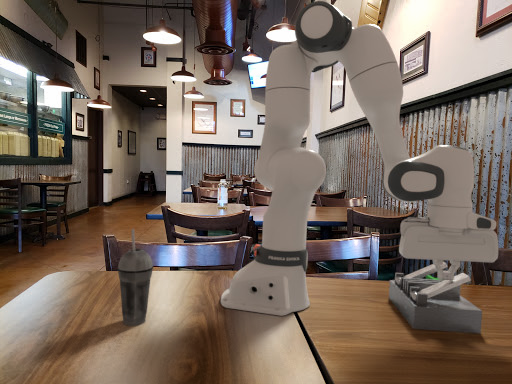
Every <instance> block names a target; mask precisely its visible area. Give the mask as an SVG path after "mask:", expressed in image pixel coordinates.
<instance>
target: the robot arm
mask: <svg viewBox="0 0 512 384" xmlns="http://www.w3.org/2000/svg"><path fill="white" fill-rule="evenodd" d="M294 25H295V26H294V33H295V34H294V35H295V39H296V40H295V41H294V42H292V43H290V44H283V45H279V46H277V47H276V48H275V49H273V50H272V51H271V53H270V54H269V58H268V63H267V69H266V77H265V93H264V94H265V95H264V96H265V101H264V102H265V104H264V105H265V106H264V109H265V110H264V128H263V133H262V140H261V143H260V148H259V149H260V150H259V153H258V158H257V160H256V162H255V164H254V168H253V171H254V172H253V173H254V177H255V179H256V180H257V182H258V183H259V184H261V185H262V187H264V188H266V189H268V190H270V191H272V192H271V196H270V201H269V204H268V207H267V209H266V211H265V212H264V214H263V216H262V238H261V239H262V241H261V244H259V243H258V244H257V243H256V244H255V245H254V246H253V248H252V249H253V260H252V261H251V262H249V263H247V264H245V266H244V267H242V268H240V269H239V270H238V271H237V272H235V273H234V275H233V278H232V279H231V282H230V287H229V288H227V289H225V290H224V291H223V293H222V294H221V297H220V304H221V306H223V308H226V309H233V310H238V311H247V312H251V313H252V312H254V313H261V314H266V315H272V316H273V315H274V316H281V317H282V316H286V315H288V314H291V313H294V312H300V311H303V310H306V309H307V308H308V307H310V304H311V303H310V299H309V295H308V294H309V293H308V287H307V277H306V276H307V275H306V272H307V268H308V260H309V258H308V256H309V255H308V254H309V253H308V248H307V231H308V230H307V229H308V219H309V218H308V217H309V214H310V213H309V212H310V209H311V206H312V203H313V200H314V197H315V194H316V192H317V191H318V189H319V188H320V187H321V186H322V185H323V183H324V181H325V180H326V176H327V165H326V163H325V160H324V159H323V157H322V156H321V155H320V154H319V153H318V152H316V151H314V150H311V149H309V148H306V147H301V146H302V142H303V138H304V135H305V132H306V131H307V130H308V128H309V126H310V121H311V77H312V76H311V75H312V73H317V72H319V71H321V70H323V69H327V68H331V67H333V66H335V65H336V64H338V63H341V65H342V66H343V69H344V70H345V72H346V75H347V78H348V82H349V85H350V88H351V91H352V93H353V95H354V98H355V100H356V102H357V103H358V105H359V107H360V109H361V111H362V113H363V114H364V117H366V120H367V121H368V123H369V125H370V127H371V129H372V131H373V135H374V137H375V140H376V143H377V146H378V150H379V154H380V157H381V159H382V165H383V166H382V168H383V170H382V176H381V185H382V189H383V191H384V192H385V194H386V195H387V196H388V197H390V198H391V199H393V200H395V201H398V202H405V203H416V202H419V201H426V200H427V211H426V212H427V215H426V217H423V216H422V217H414V216H409V217H407V218H405V219H403V220H402V221H401V223H400V230H399V233H400V235H401V236H400V240H399V247H398V252H399V254H400V255H401V256H402V257H403V258H405V259H413V260H432V263H433V264H434V266H435V267H436V269H437V270H438V271H437V272H436V273H437V277H436V278H438V279H440V280H454V276H455V273H456V272H457V270H458V269H459V268H460V267H461V262H471V263H473V262H474V263H475V262H477V263H495V261H496V260H498V258H499V239H498V238H499V237H498V235H497V233H496V231H494V230H496V228H497V221H496V220H495V219H492V218H489V217H487V216H483V215H481V214H479V213H476V212H474V211H473V202H472V192H473V190H474V186H475V165H474V164H475V163H474V157H473V155H472V152H471V151H469V149H466V148H464V147H461V146H457V145H450V144H449V145H447V144H439V145H435V146H434V147H433V148H431V149H430V150H428V151H426V152H423V153H422V154H419V155H416V156H414V157H410V154H409V151H408V147H407V145H406V141H405V138H404V135H403V132H402V127H401V123H400V111H401V107H402V102H403V97H404V87H403V86H404V85H403V80H402V79H403V78H402V73H401V70H400V67H399V65H398V61H397V57H396V56H395V53H394V51H393V48H392V46H391V44H390V42H389V41H388V39H387V36H386V34H384V32H383V30H382V29H381V27H380V26H378V25H376V24H371V23H369V24H362V25H359V26H357V27H353V22H352V20H351V19H350V18H349V17H348V16H346V15H345V14H344V13H343V12H342V11H340V9H338V8H337V7H336V6H334V5H333V4H331V3H330V2H328V1H325V0H324V1H323V0H317V1H312V2H310V3H308V4H307V5H305V6H303V8H302V9H301V10H300V12H299V13H298V15H297V18H296V20H295V24H294ZM444 261H449V264H451V265H450V266H449V268H448V270H444V269H442V268H441V266H440V265H443V262H444Z"/></svg>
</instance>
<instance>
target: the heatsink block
mask: <svg viewBox="0 0 512 384" xmlns="http://www.w3.org/2000/svg"><path fill="white" fill-rule="evenodd" d="M398 276H399V277H404V276H405V273H403V272H395V275H394V279H392V280H391V279H389V286H388V287H389V289H388V299H389V301H391V303H392V304H393V306H394V307H395V308H396V309H397V311H398V312H399V313H400V314H401V315H402V317H403V318H404V319H405V320H406V321H407V323H408V324H409V325H410V327H412V329H414V330H427V331H440V332H451V333H452V332H453V333H465V334H466V333H468V334H481V332H482V319H483V318H482V317H483V310H482V309H480V308H479V307H477V306H476V305H475V304H473V303H472V302H471V301H469V300H468V299H466V298H465V297H463V296H462V295H461V285H462V284H461V285H459V286H456V287H454V288H452V289H449V290H447V291H444V292H442V293H439V294H437V295H435V296H432V297H430V298H427V297H428V294H426V293H417V295H416V302H415V301H414V300H413V299H412V298H411V297H410V292H411V291H416V292H418V291H420V290H423V289H425V288H427V287H430V286H432V285H435V284H437V283H439V282H442V281H444V280H431V279H426V278H420V279H415V278H400V286H399V285H398V284H397V283H396V281H395V278H396V277H398Z"/></svg>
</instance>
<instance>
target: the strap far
mask: <svg viewBox="0 0 512 384" xmlns="http://www.w3.org/2000/svg"><path fill="white" fill-rule="evenodd" d="M440 266H441V268H442V270H444V269H446V268H448V265H447V262H445V261H443V265H440ZM437 272H438V270H437V269H436V267H435V266H434V264H430V265H427V266H425V267H423V268H420V269H418V270H416V271H412V272H411V273H409V274H406V275H404V277H399V276H398V277H396V278H395V277H394V280H395V281H396V283H397V284H398V285H399V286H400V278H415V279H424V277H425V278H426V276H427V275H430V276H431V274H435V273H437Z"/></svg>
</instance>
